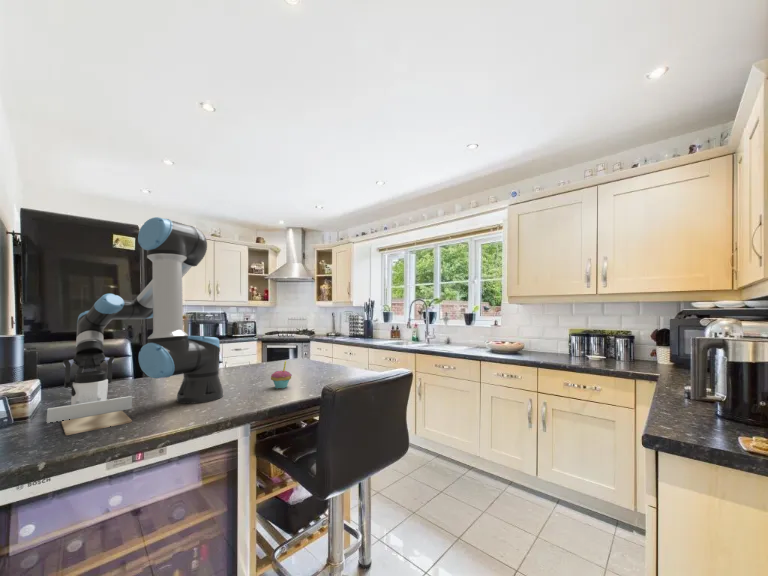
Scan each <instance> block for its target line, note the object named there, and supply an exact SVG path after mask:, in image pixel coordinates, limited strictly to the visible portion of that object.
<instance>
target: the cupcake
mask: <svg viewBox="0 0 768 576" xmlns="http://www.w3.org/2000/svg"><path fill="white" fill-rule="evenodd" d="M286 365H287V360H285V361H284V363H283V370H276V371H274V372H273V373H272V374H271V375H270V380H271V381H272V382H273V384H274V388H275V389H278V388H282V389H286V388H288V384H289V383H290V380H291V379H292V376H293V375H292V374H291V373H290V372H289V371H287V370H286ZM285 387H286V388H285Z"/></svg>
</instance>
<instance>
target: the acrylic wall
mask: <svg viewBox="0 0 768 576" xmlns="http://www.w3.org/2000/svg"><path fill="white" fill-rule="evenodd" d="M132 409H133V395H129V396H123V397H121V396H120V397H116V398H110V399H108V398H107V400H101V401H94V402H88V403H81V404H75V405H71V404H68V405H63V406H62V405H61V406H56V407H48V408H47V412H46V422H47V423H46V424H51V423H50V422H53V423H57V422H56V421H58V422H62V420H64V421H66V420H69V419H70V420H72V419H77V418H83V417H89V416H95V415H100V414H106V413H112V412H117V411H125V410H126V411H127V410H132Z"/></svg>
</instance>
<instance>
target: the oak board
mask: <svg viewBox="0 0 768 576" xmlns="http://www.w3.org/2000/svg"><path fill="white" fill-rule="evenodd" d="M132 422H133V420H132V419H131V417H129V416H128V415H127V414H126V412H124V410H121V411H116V412H110V413H104V414H98V415H93V416H87V417H81V418H75V419H70V420H64V421H61V426H62V429H63V431H64V434H65V436H70V435H75V434H79V433H80V434H81V433H85V432H91V431H95V430H101V429H105V428H110V426H111V427H115V426H121V425H125V424H131V423H132Z"/></svg>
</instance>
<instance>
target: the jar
mask: <svg viewBox="0 0 768 576" xmlns="http://www.w3.org/2000/svg"><path fill="white" fill-rule="evenodd" d="M76 373H77V372H76ZM76 373H75V374H74V378H73V380H74V382H73V381H72V382H73V388H74V390H75V392H77V394H78V396H79V404H81V403H88V402H94V401H98V395H99V394H100V392H101V400H108V390H109V389H108V387H109V386H108V385H109V383H108V379H107V370H102V371H93V370H92V371H84V372H82V373H77V374H76ZM70 403H71V404H70V405H75V404H76V394H75V395H74V396H72V395H71V399H70Z"/></svg>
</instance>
